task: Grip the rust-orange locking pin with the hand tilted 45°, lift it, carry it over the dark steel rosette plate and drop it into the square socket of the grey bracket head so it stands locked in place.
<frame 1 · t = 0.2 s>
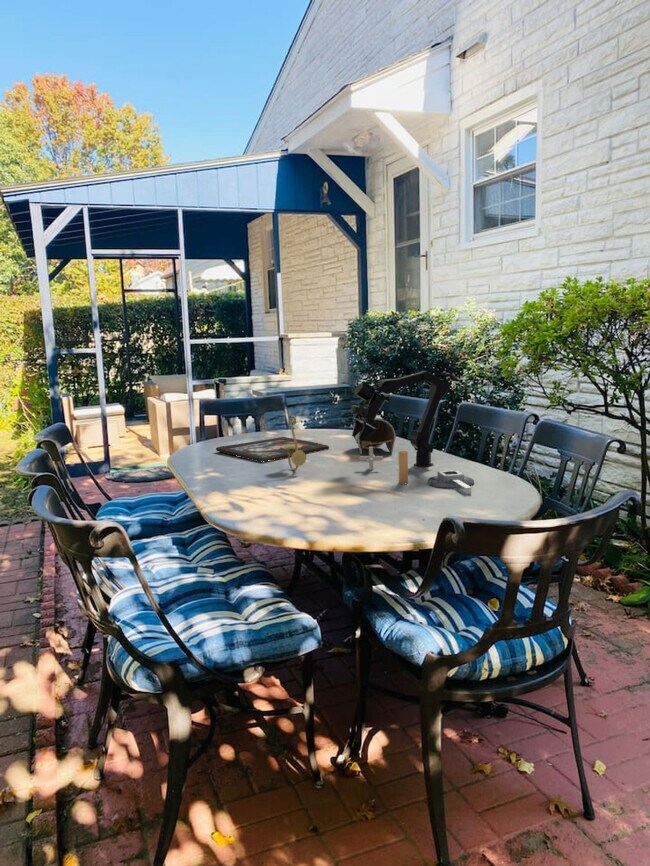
hand: (356, 437, 276), 15 cm above the table, tool tilted 35°, fingers open, 9 cm apart
religious icon: (272, 452, 331), on the table
pipe connector: (371, 470, 282), on the table
rosette plate: (450, 482, 254), on the table
locking pin: (403, 482, 257), on the table
helmet: (373, 451, 323), on the table
wall sconce: (294, 471, 285), on the table
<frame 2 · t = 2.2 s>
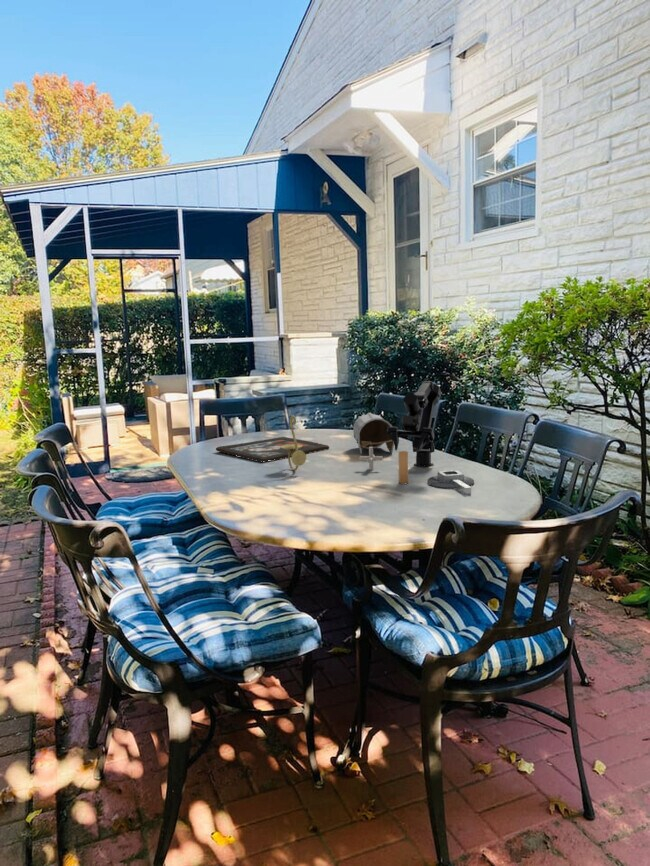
hand: (406, 450, 260), 12 cm above the table, tool tilted 45°, fingers open, 9 cm apart
nothing on the table moved.
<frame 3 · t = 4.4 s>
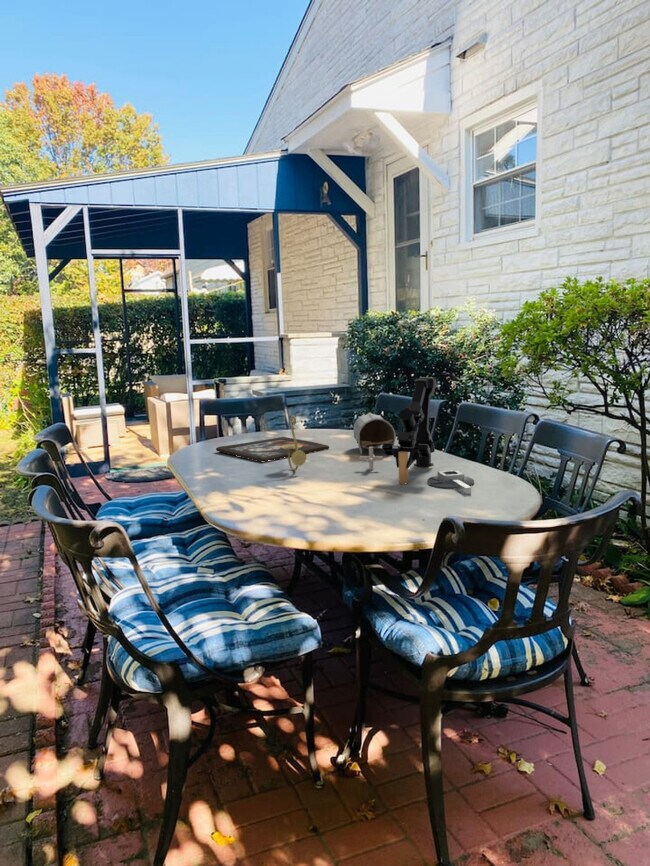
hand: (402, 467, 254), 7 cm above the table, tool tilted 45°, fingers closed on locking pin, 4 cm apart
locking pin: (403, 482, 257), on the table, touching gripper
everything else where it was.
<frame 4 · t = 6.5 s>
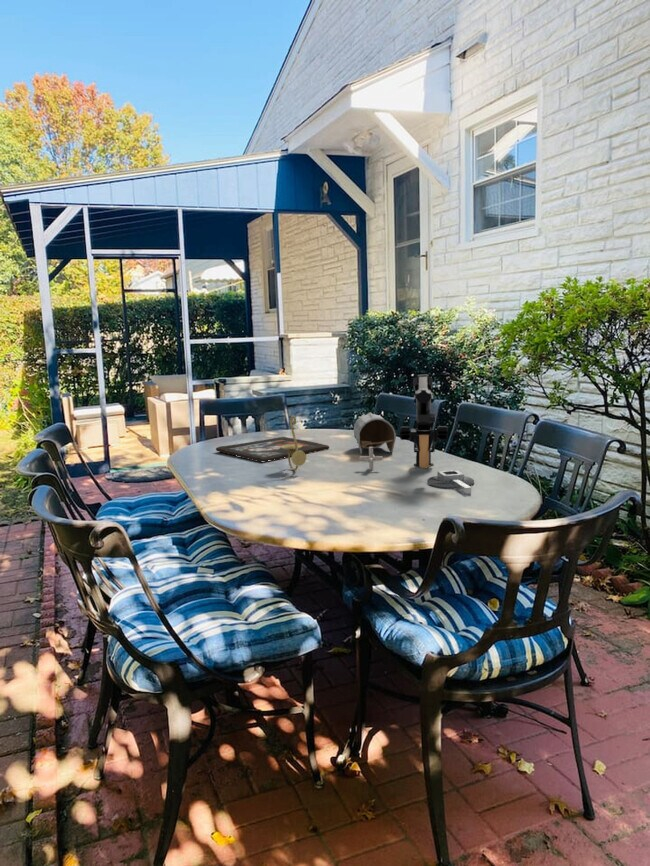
hand: (424, 450, 251), 13 cm above the table, tool tilted 45°, fingers closed on locking pin, 4 cm apart
locking pin: (424, 466, 253), point 7 cm above the table, touching gripper
everything else where it was.
when the fingers open (8 cm above the table, at t = 8.9 s): locking pin stays where it is, resting on rosette plate.
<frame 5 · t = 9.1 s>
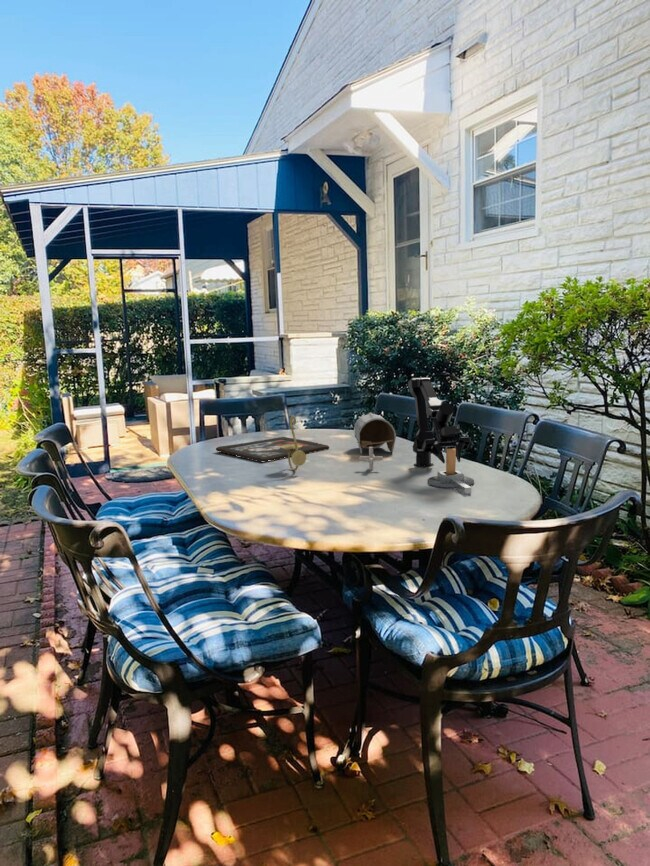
hand: (451, 462, 252), 9 cm above the table, tool tilted 45°, fingers open, 6 cm apart
locking pin: (450, 480, 254), point 1 cm above the table, touching rosette plate
everything else where it was.
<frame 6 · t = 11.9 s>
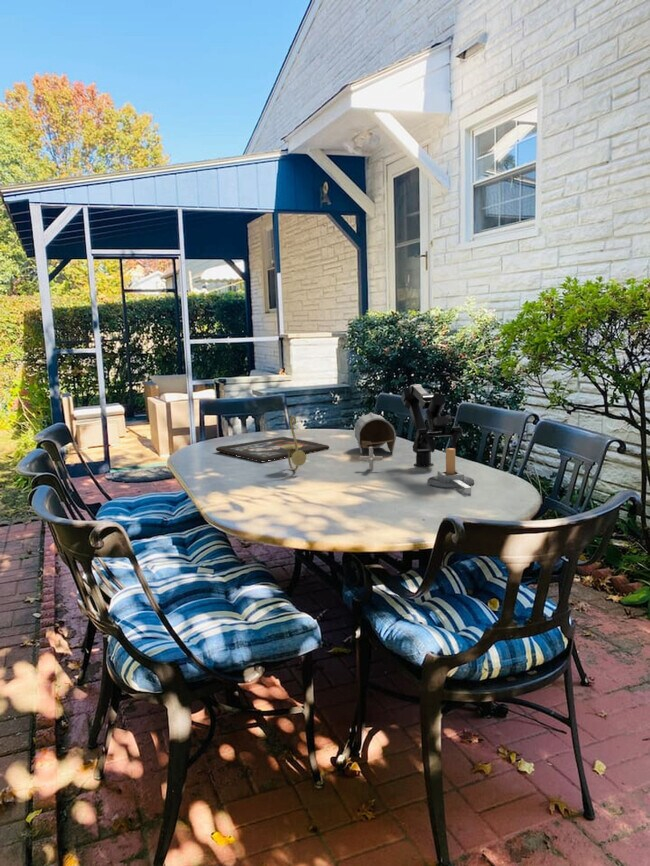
hand: (443, 451, 260), 11 cm above the table, tool tilted 45°, fingers open, 9 cm apart
nothing on the table moved.
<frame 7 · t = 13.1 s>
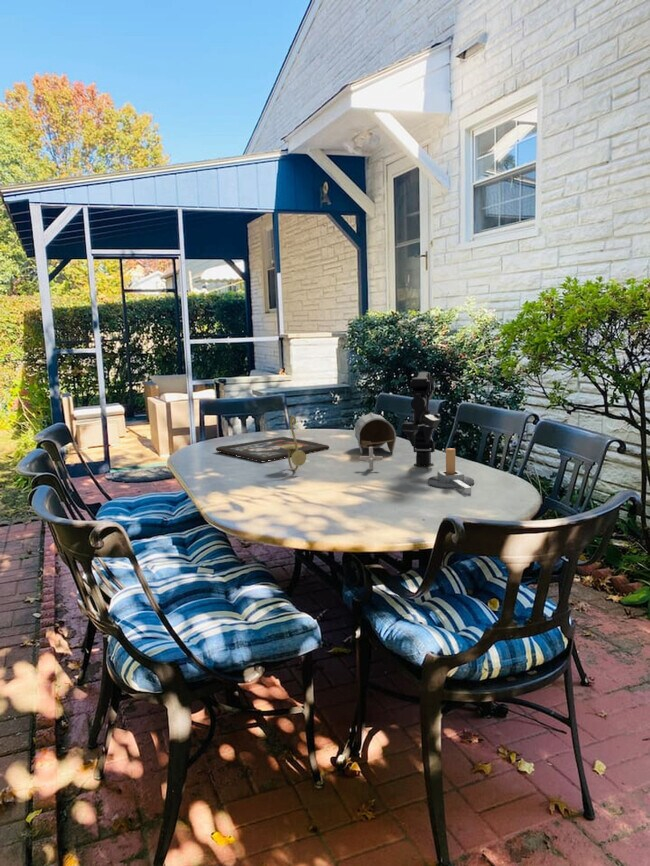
hand: (420, 444, 271), 12 cm above the table, tool pointing down, fingers open, 9 cm apart
nothing on the table moved.
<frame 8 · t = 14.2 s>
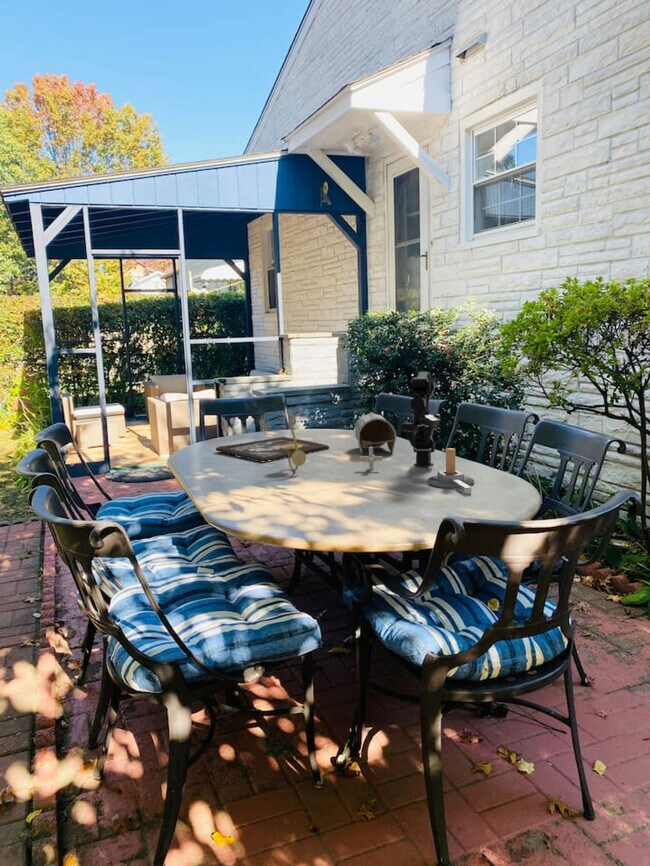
hand: (420, 444, 271), 12 cm above the table, tool pointing down, fingers open, 9 cm apart
nothing on the table moved.
at the end: locking pin 0.0 cm off-centre on the rosette plate, point 1.0 cm above the rosette plate's base; locking pin tilted 0°; the gripper is holding nothing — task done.
